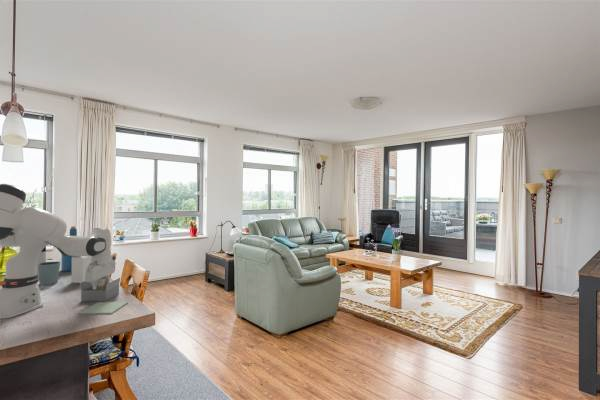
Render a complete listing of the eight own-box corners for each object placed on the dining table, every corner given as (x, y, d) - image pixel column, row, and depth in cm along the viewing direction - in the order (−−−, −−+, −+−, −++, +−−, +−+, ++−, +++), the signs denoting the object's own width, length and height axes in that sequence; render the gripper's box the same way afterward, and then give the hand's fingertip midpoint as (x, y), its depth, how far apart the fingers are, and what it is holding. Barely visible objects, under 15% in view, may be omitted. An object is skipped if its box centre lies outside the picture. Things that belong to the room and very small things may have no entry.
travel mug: (44, 276, 201) (44, 244, 200) (47, 278, 196) (47, 246, 196) (31, 278, 196) (31, 246, 196) (34, 280, 192) (34, 247, 191)
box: (102, 298, 160) (103, 279, 160) (92, 298, 160) (92, 279, 160) (108, 295, 165) (108, 276, 165) (98, 295, 165) (98, 276, 165)
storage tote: (107, 301, 157) (107, 283, 157) (79, 301, 156) (79, 282, 156) (120, 293, 169) (120, 276, 169) (94, 293, 168) (94, 276, 168)
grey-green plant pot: (33, 285, 180) (33, 264, 180) (46, 280, 191) (47, 261, 190) (51, 285, 181) (51, 264, 181) (64, 281, 191) (64, 261, 191)
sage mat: (111, 314, 140) (111, 312, 140) (79, 313, 140) (79, 312, 140) (127, 303, 154) (127, 302, 154) (98, 303, 154) (98, 301, 154)
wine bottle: (88, 269, 221) (88, 226, 221) (66, 273, 210) (66, 227, 210) (78, 266, 229) (79, 225, 228) (57, 270, 217) (57, 226, 217)
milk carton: (91, 280, 193) (91, 249, 193) (82, 283, 186) (82, 251, 186) (80, 279, 194) (81, 248, 194) (71, 283, 187) (71, 250, 187)
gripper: (95, 263, 152) (94, 292, 152) (117, 255, 172) (117, 281, 172) (81, 263, 152) (81, 292, 152) (106, 255, 172) (105, 281, 172)
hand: (100, 286), depth 162 cm, fingers open, 8 cm apart
